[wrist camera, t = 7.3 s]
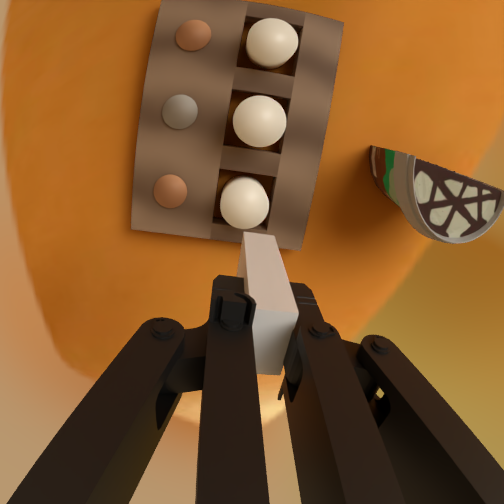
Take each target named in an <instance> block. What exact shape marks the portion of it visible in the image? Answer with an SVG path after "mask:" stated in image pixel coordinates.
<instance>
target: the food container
mask: <svg viewBox="0 0 504 504" xmlns="http://www.w3.org/2000/svg"><path fill="white" fill-rule="evenodd" d="M369 160H370V169H371V173H372V176H373V178H374V181H375V183H376V185H377V186H378V188H379V189H380V190H381V191H382V192H383V194H384V195H385V196H387V197H388V198H389V199H390V200H392V201H393V202H394V203H395V204H397V205H398V206H399V207H401V210H402V212H403V214H404V215H405V217H406V219H407V220H408V222H409V223H410V224H411V225H412V226H413V228H415V229H416V230H417V231H418V232H419V233H421V234H422V235H424V236H426V237H428V238H431V239H434V240H437V241H441V242H444V243H452V244H454V243H464V242H469V241H472V240H474V239H476V238H477V237H480V236H481V235H482V234H484V233H485V232H486V231H487V230H488V229H489V228H490V227H491V226H492V225H493V224H494V223H495V221H496V220H497V219H498V217H499V215H500V214H501V212H502V210H503V208H504V191H503V190H501V189H498V188H496V187H493V186H491V185H488V184H486V183H483V182H480V181H478V180H475V179H473V178H470V177H467V176H464V175H461V174H459V173H456V172H455V171H450V170H448V169H446V168H443V167H440V166H438V165H434V164H431V163H429V162H425V161H424V160H423V161H422V160H421V159H420V160H419V159H416V156H413V155H409V154H406V153H403V152H399V151H393V150H389V149H385V148H380V147H376V146H370V154H369Z"/></svg>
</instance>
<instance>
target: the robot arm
mask: <svg viewBox="0 0 504 504" xmlns="http://www.w3.org/2000/svg"><path fill="white" fill-rule="evenodd" d="M283 365H284V369H285V376H284V379H283V382H282V385H281V388H280V391H279V394H278V400H281V398H282V395H283V393H284V399H285V405H286V411H287V417H288V423H289V429H290V435H291V442H292V448H293V454H294V460H295V466H296V472H297V478H298V485H299V491H300V497H301V503H302V504H504V470H503V469H502V468H501V467H500V465H499V464H498V463H497V461H496V460H495V459H494V458H493V457H492V455H491V454H490V453H489V452H488V451H487V449H486V448H485V447H484V445H483V444H482V443H481V442H480V441H479V439H477V437H476V436H475V435H474V434H473V432H472V431H471V430H470V429H469V428H468V426H467V425H466V424H465V423H464V422H463V421H462V419H461V418H460V417H459V416H458V415H457V414H456V412H455V411H454V410H453V409H452V408H451V407H450V406H449V404H448V403H447V402H446V401H445V400H444V399H443V397H441V395H440V394H439V393H438V392H437V391H436V389H435V388H434V387H433V386H432V385H431V384H430V383H429V382H428V381H427V379H426V378H425V377H424V376H423V375H422V374H421V373H420V372H419V370H418V369H417V368H416V367H415V366H414V365H413V364H412V363H411V362H410V360H409V359H408V358H407V357H406V356H405V355H404V354H403V353H402V352H401V351H400V350H399V348H398V347H397V346H396V345H395V344H394V343H393V342H391V341H390V340H389V339H387V338H385V337H383V336H379V335H368V336H365V337H364V338H363V340H362V341H361V344H357V343H353V342H349V341H346V340H343V339H341V337H340V335H339V333H338V331H337V330H336V328H335V327H333V326H332V325H330V324H329V323H326V322H324V319H323V317H322V314H321V312H320V310H319V307H318V305H317V302H316V300H315V297H314V295H313V293H312V290H311V289H309V288H308V287H307V286H306V285H305V284H302V283H293V282H289V280H288V277H287V274H286V270H285V267H284V264H283V261H282V258H281V255H280V252H279V249H278V245H277V242H276V239H275V236H274V235H266V234H259V233H252V232H244V233H243V239H242V245H241V251H240V258H239V264H238V270H237V276H236V277H233V276H225V275H218V276H217V277H216V278H215V279H214V280H213V287H212V295H211V304H210V313H209V319H208V321H207V322H206V323H205V324H204V325H202V326H200V327H197V328H193V329H184V327H183V326H182V325H181V324H180V323H179V322H177V321H175V320H173V319H169V318H164V317H161V318H153V319H150V320H147V321H146V322H145V323H143V324H142V325H141V327H140V328H139V329H138V330H137V331H136V333H135V334H134V335H133V336H132V338H131V339H130V340H129V341H128V342H127V344H126V345H125V346H124V347H123V349H122V350H121V351H120V352H119V354H118V355H117V356H116V357H115V359H114V360H113V361H112V362H111V364H110V365H109V366H108V367H107V369H106V370H105V371H104V373H103V374H102V375H101V376H100V378H99V379H98V380H97V381H96V383H95V384H94V385H93V387H92V388H91V389H90V390H89V392H88V393H87V394H86V396H85V397H84V398H83V400H82V401H81V402H80V403H79V405H78V406H77V407H76V409H75V410H74V411H73V412H72V414H71V415H70V417H69V418H68V419H67V420H66V422H65V423H64V424H63V426H62V427H61V428H60V430H59V431H58V433H57V434H56V435H55V437H54V438H53V439H52V441H51V442H50V443H49V445H48V446H47V447H46V449H45V450H44V451H43V453H42V454H41V455H40V457H39V458H38V460H37V461H36V462H35V464H34V465H33V467H32V468H31V469H30V471H29V472H28V474H27V475H26V476H25V478H24V479H23V481H22V482H21V484H20V485H19V486H18V488H17V489H16V491H15V492H14V494H13V495H12V497H11V498H10V499H9V501H8V502H7V504H129V501H130V500H131V498H132V496H133V494H134V492H135V490H136V488H137V486H138V483H139V481H140V480H141V477H142V475H143V474H144V471H145V469H146V467H147V465H148V463H149V461H150V459H151V457H152V455H153V453H154V451H155V449H156V447H157V445H158V443H159V441H160V439H161V437H162V435H163V433H164V431H165V429H166V427H167V425H168V423H169V421H170V419H171V417H172V415H173V413H174V411H175V409H176V407H177V405H178V403H179V401H180V398H181V396H182V393H183V392H191V391H198V390H202V399H201V413H200V427H199V443H198V460H197V478H196V501H195V504H270V503H269V493H268V483H267V475H266V464H265V455H264V444H263V435H262V424H261V414H260V404H259V393H258V383H257V374H266V375H280V374H281V371H282V368H283ZM379 388H381V390H382V391H383V392H384V395H383V397H382V398H379V397H378V396H377V394H376V393H377V391H378V389H379Z"/></svg>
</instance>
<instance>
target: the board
mask: <svg viewBox="0 0 504 504" xmlns="http://www.w3.org/2000/svg"><path fill="white" fill-rule="evenodd" d="M267 18H275V19H280V20H283V21H285V22H287V23H288V24H289V25H291V26H292V27H293V29H294V30H295V31H297V32H299V35H298V47H297V49H296V52H295V58H294V64H293V70H292V76H288V75H283V74H278V73H272V72H267V71H261V70H255V69H248V68H242V67H236V65H237V60H238V55H239V49H240V44H241V39H242V33H243V28H244V23H245V22H248V23H254V24H255V23H257V22H258V21H260V20H263V19H267ZM343 26H344V22H340V21H337V20H333V19H330V18H326V17H323V16H319V15H315V14H311V13H307V12H302V11H298V10H293V9H289V8H284V7H279V6H273V5H268V4H262V3H255V2H249V1H241V0H162V1H161V5H160V9H159V13H158V18H157V22H156V26H155V31H154V35H153V40H152V45H151V50H150V55H149V60H148V66H147V72H146V77H145V83H144V90H143V96H142V103H141V111H140V118H139V126H138V135H137V144H136V155H135V166H134V179H133V194H132V215H131V229H133V230H141V231H149V232H157V233H165V234H173V235H181V236H189V237H197V238H205V239H213V240H221V241H229V242H236V243H242V239H243V233H244V232H252V233H259V234H266V235H274V236H275V239H276V242H277V245H278V248H283V249H290V250H298V251H301V247H302V243H303V238H304V234H305V230H306V225H307V221H308V216H309V212H310V207H311V203H312V198H313V193H314V188H315V184H316V179H317V174H318V169H319V164H320V159H321V154H322V149H323V144H324V139H325V134H326V128H327V123H328V118H329V112H330V106H331V101H332V95H333V89H334V83H335V78H336V71H337V65H338V59H339V53H340V46H341V40H342V33H343ZM232 91H236V92H243V93H250V94H256V95H262V96H268V97H273V98H279V99H284V100H287V104H286V110H285V115H286V128H285V131H284V133H283V135H282V136H281V138H280V144H279V149H278V152H273V151H267V150H261V149H254V148H248V147H241V146H234V145H227V144H224V137H225V131H226V124H227V118H228V112H229V106H230V100H231V94H232ZM220 169H227V170H234V171H241V172H248V173H255V174H261V175H268V176H274V177H273V182H272V188H271V193H270V199H269V210H268V213H267V216H266V221H265V224H262V223H260V224H259V225H257V226H255V227H253V228H249V229H239V228H236V227H233V226H232V225H230V224H229V223H227V221H226V220H225V219H224V218H217V217H213V215H214V207H215V200H216V192H217V185H218V178H219V171H220Z"/></svg>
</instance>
